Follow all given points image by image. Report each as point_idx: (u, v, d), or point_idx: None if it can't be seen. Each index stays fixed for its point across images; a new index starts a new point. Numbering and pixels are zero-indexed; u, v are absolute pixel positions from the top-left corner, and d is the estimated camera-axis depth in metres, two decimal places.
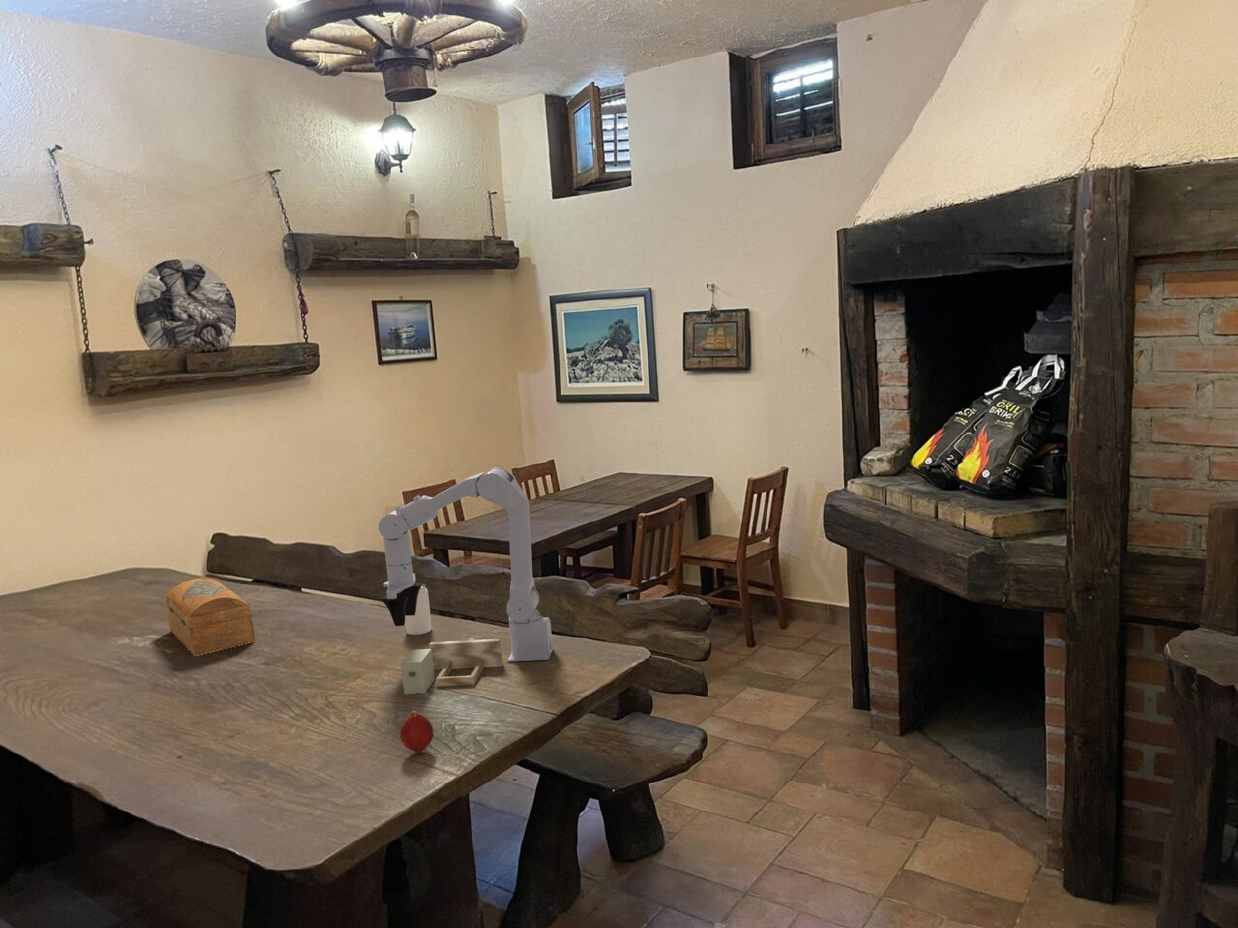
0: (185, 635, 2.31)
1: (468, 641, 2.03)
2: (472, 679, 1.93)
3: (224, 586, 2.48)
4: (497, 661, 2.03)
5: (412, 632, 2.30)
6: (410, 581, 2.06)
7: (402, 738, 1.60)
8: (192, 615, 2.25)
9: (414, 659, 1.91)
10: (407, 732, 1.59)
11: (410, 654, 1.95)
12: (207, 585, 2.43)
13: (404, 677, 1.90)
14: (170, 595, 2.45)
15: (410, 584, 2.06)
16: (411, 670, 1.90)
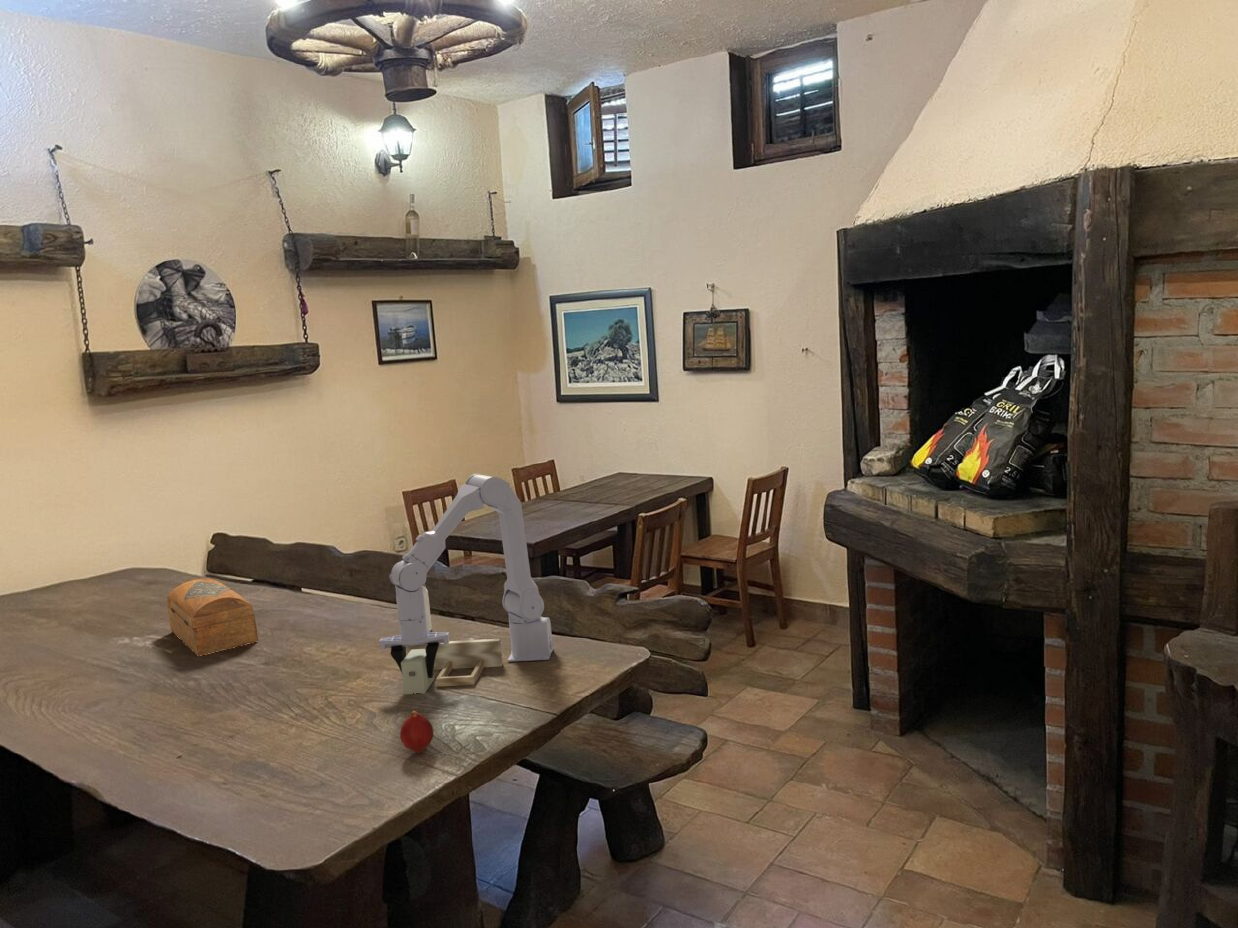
0: (188, 635, 2.31)
1: (468, 641, 2.03)
2: (472, 679, 1.93)
3: None
4: (497, 661, 2.03)
5: None
6: (407, 639, 1.90)
7: (402, 738, 1.60)
8: (195, 615, 2.24)
9: (414, 659, 1.91)
10: (407, 732, 1.59)
11: (410, 654, 1.95)
12: (209, 585, 2.42)
13: (404, 676, 1.90)
14: (171, 595, 2.45)
15: (405, 642, 1.90)
16: (411, 669, 1.90)
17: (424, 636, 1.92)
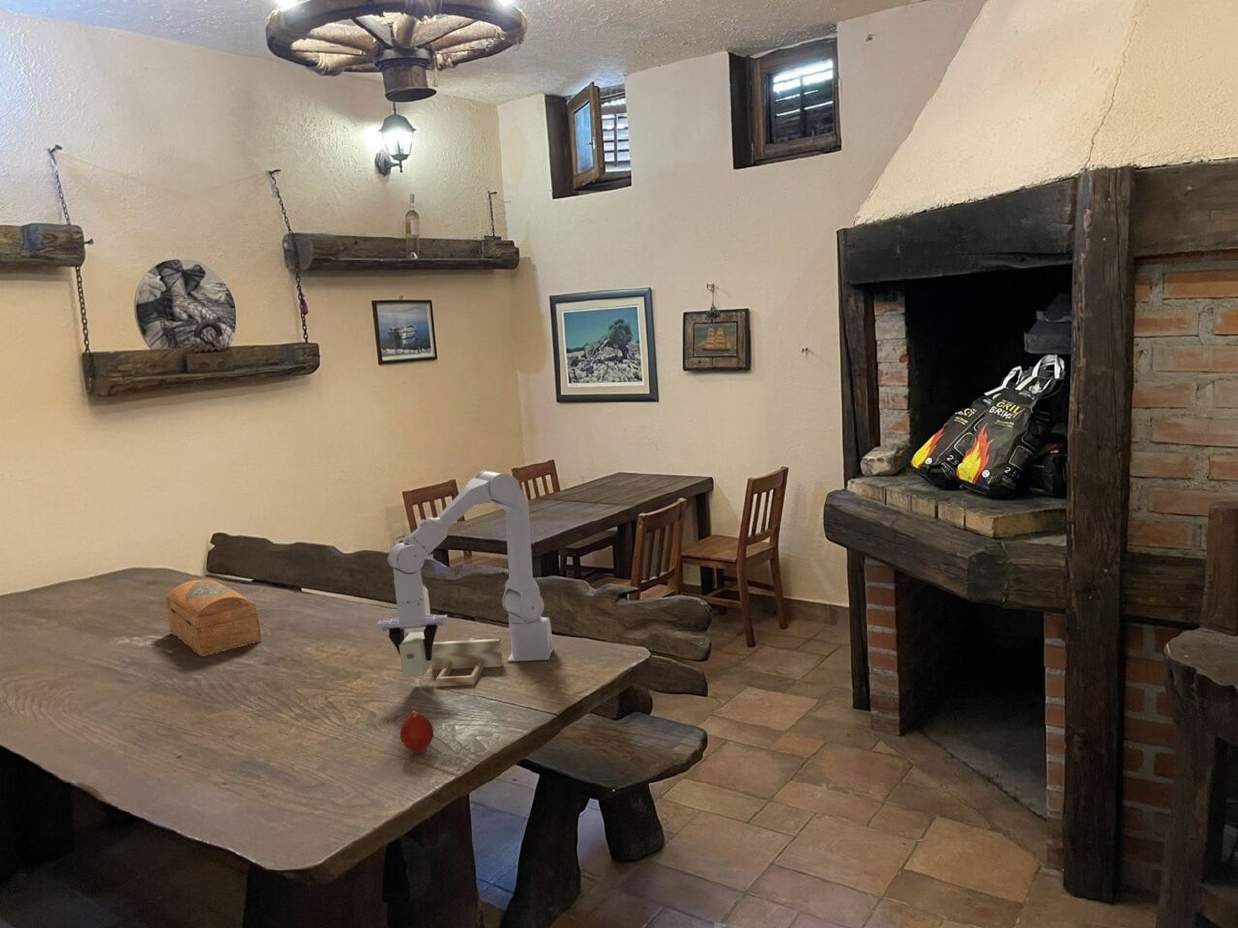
0: (190, 635, 2.31)
1: (468, 641, 2.03)
2: (472, 679, 1.93)
3: None
4: (497, 661, 2.03)
5: (412, 632, 2.30)
6: (405, 622, 1.90)
7: (402, 738, 1.60)
8: (199, 615, 2.24)
9: (413, 641, 1.91)
10: (407, 732, 1.59)
11: (408, 637, 1.94)
12: (210, 585, 2.42)
13: (402, 659, 1.90)
14: (171, 596, 2.44)
15: (403, 625, 1.90)
16: (409, 652, 1.89)
17: (422, 618, 1.91)
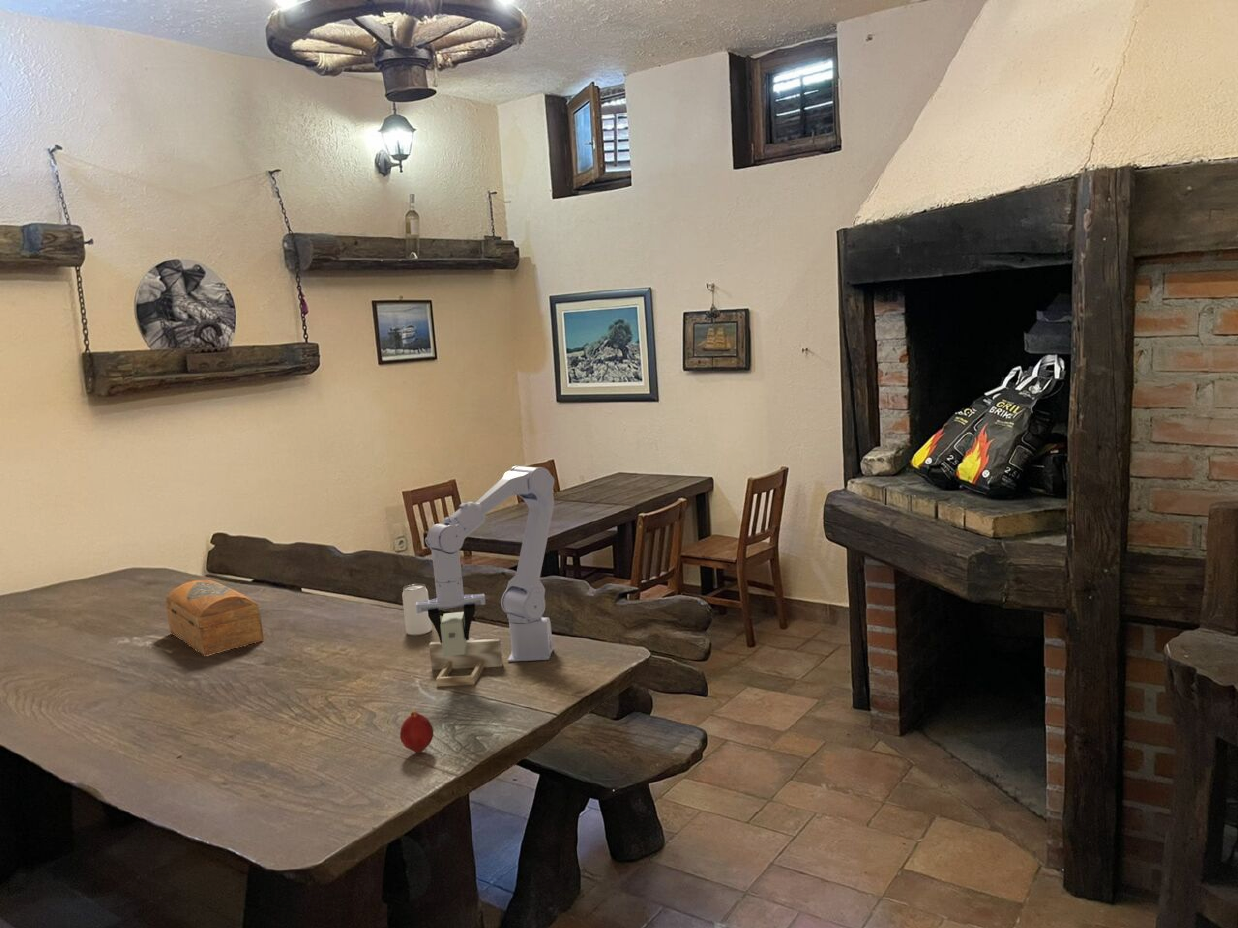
0: (193, 635, 2.30)
1: (468, 641, 2.03)
2: (472, 679, 1.93)
3: None
4: (497, 661, 2.03)
5: (412, 632, 2.30)
6: (445, 601, 1.91)
7: (402, 738, 1.60)
8: (202, 615, 2.24)
9: (452, 620, 1.92)
10: (407, 732, 1.59)
11: (445, 617, 1.95)
12: (211, 585, 2.42)
13: (443, 638, 1.91)
14: (171, 596, 2.44)
15: (444, 604, 1.91)
16: (451, 631, 1.91)
17: (462, 598, 1.93)
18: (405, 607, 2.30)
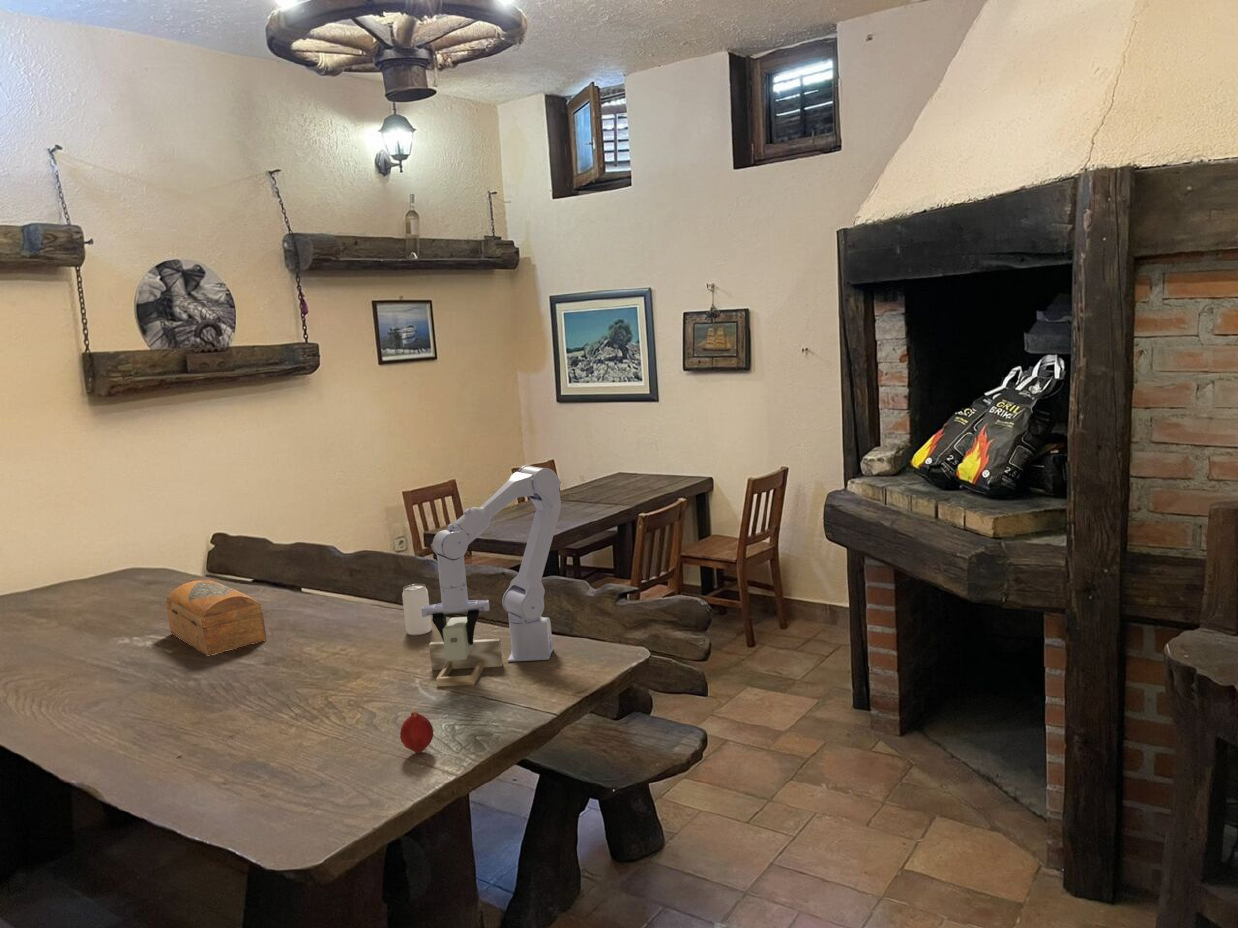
0: (195, 635, 2.30)
1: None
2: (472, 679, 1.93)
3: None
4: (497, 661, 2.03)
5: (412, 632, 2.30)
6: (448, 606, 1.95)
7: (402, 738, 1.60)
8: (206, 615, 2.24)
9: (455, 625, 1.96)
10: (407, 732, 1.59)
11: (450, 621, 1.99)
12: (212, 586, 2.42)
13: (445, 643, 1.95)
14: (172, 597, 2.43)
15: (447, 609, 1.95)
16: (453, 636, 1.94)
17: (465, 603, 1.96)
18: (405, 607, 2.30)
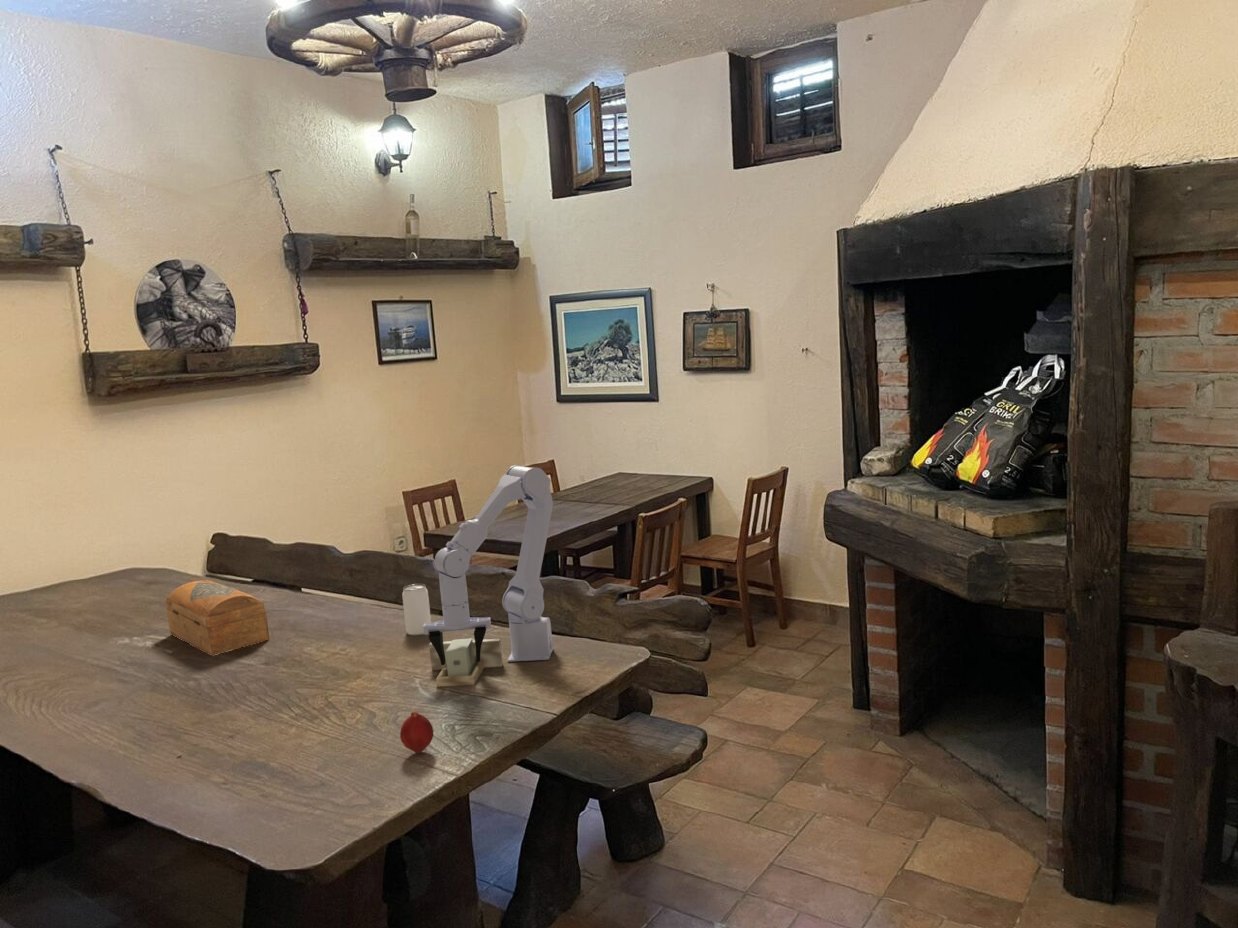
0: (198, 636, 2.30)
1: None
2: (472, 679, 1.93)
3: None
4: (497, 661, 2.03)
5: (412, 632, 2.30)
6: (450, 624, 1.95)
7: (402, 738, 1.60)
8: (210, 614, 2.24)
9: (458, 648, 1.96)
10: (407, 732, 1.59)
11: (452, 643, 2.00)
12: (213, 586, 2.41)
13: (448, 665, 1.95)
14: (172, 597, 2.42)
15: (448, 627, 1.95)
16: (456, 658, 1.95)
17: (467, 621, 1.97)
18: (405, 607, 2.30)
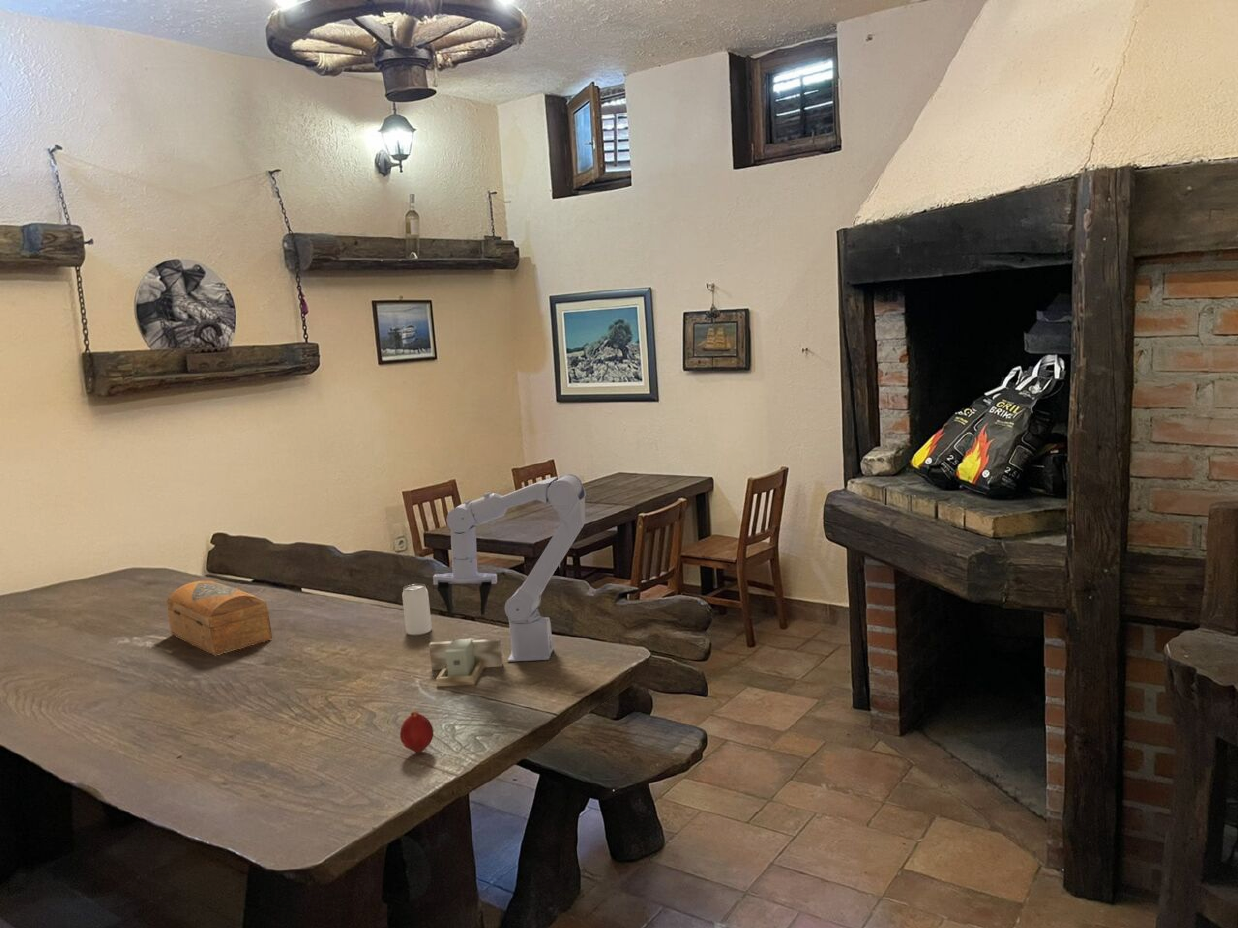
0: (200, 636, 2.30)
1: None
2: (472, 679, 1.93)
3: None
4: (497, 661, 2.03)
5: (412, 632, 2.30)
6: (458, 577, 2.06)
7: (402, 738, 1.60)
8: (213, 614, 2.24)
9: (458, 648, 1.96)
10: (407, 732, 1.59)
11: (452, 643, 2.00)
12: (215, 586, 2.41)
13: (448, 665, 1.95)
14: (173, 598, 2.42)
15: (456, 579, 2.06)
16: (456, 658, 1.95)
17: (474, 575, 2.07)
18: (405, 607, 2.30)
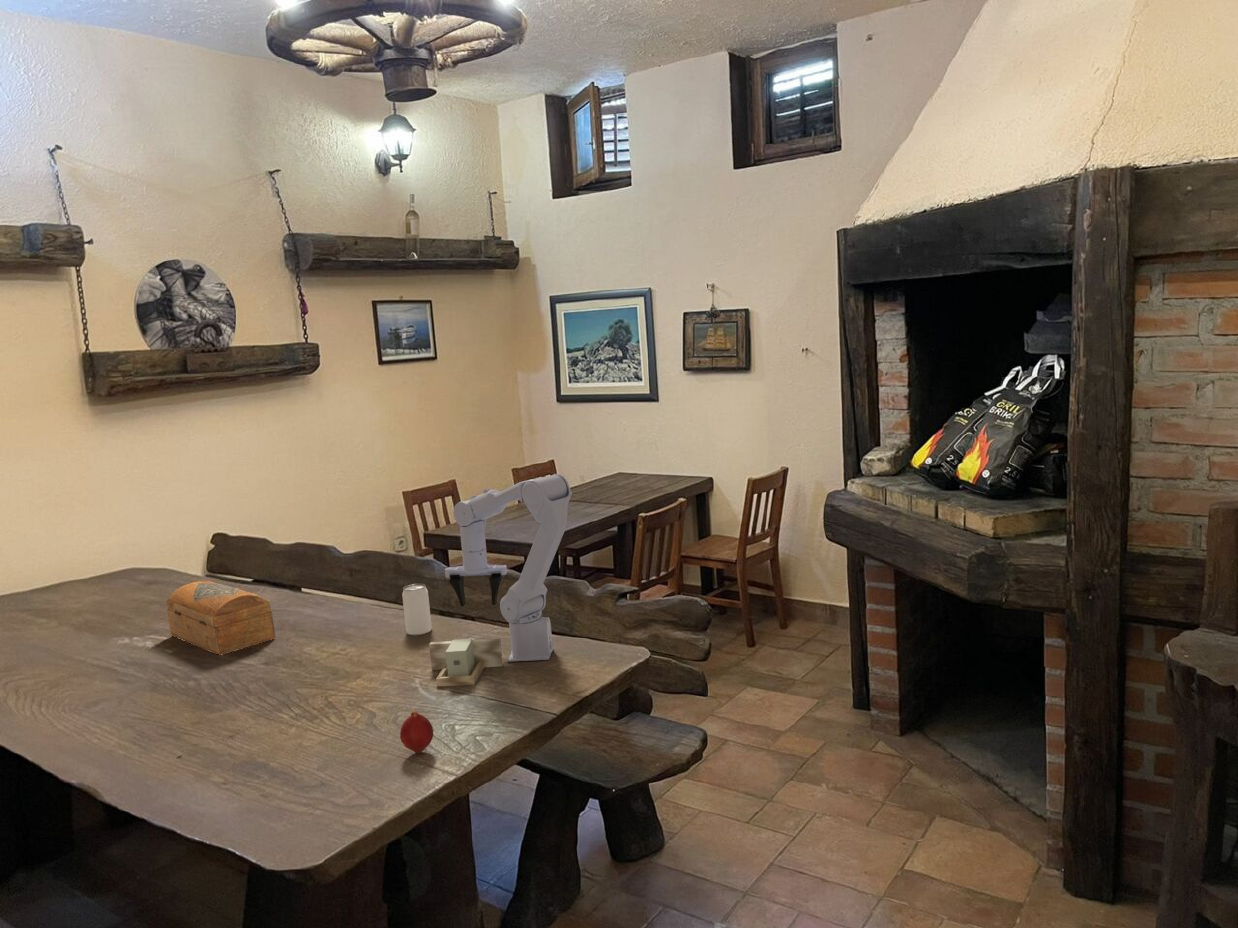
0: (204, 636, 2.30)
1: None
2: (472, 679, 1.93)
3: None
4: (497, 661, 2.03)
5: (412, 632, 2.30)
6: (468, 569, 2.13)
7: (402, 738, 1.60)
8: (217, 614, 2.24)
9: (458, 648, 1.96)
10: (407, 732, 1.59)
11: (452, 643, 2.00)
12: (216, 586, 2.41)
13: (448, 665, 1.95)
14: (174, 598, 2.41)
15: (466, 572, 2.13)
16: (456, 658, 1.95)
17: (484, 567, 2.13)
18: (405, 607, 2.30)
